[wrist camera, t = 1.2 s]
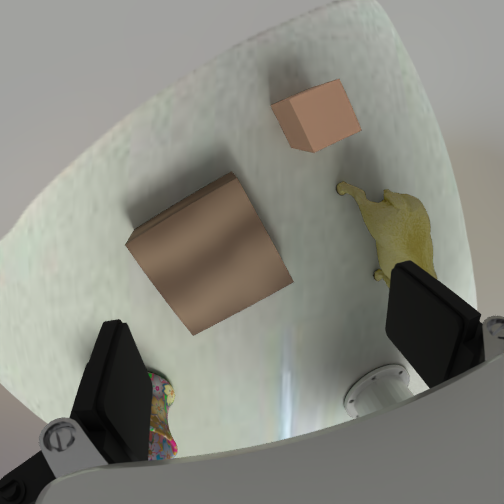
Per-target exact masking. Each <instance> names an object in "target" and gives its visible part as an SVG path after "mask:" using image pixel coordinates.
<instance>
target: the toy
mask: <svg viewBox="0 0 504 504" xmlns="http://www.w3.org/2000/svg"><path fill="white" fill-rule="evenodd" d="M336 191H337V193H338V194H340V195H344V194H345V193H348V194H350V195H351V196H353V197H354V199H355V200H356V202H357V203H358V205H359V208H360V211H361V214H362V217H363V220H364V222H365V224H366V226H367V228H368V230H369V232H370V234H371V236H372V237H373V238H374V239H375V240H376V247H377V255H378V260H379V265H380V268H381V269H382V270H381V269H378V270H376V271H375V272H374V275H373V277H374V279H375V280H376V281H380V280H381V279H382V278H383V280H384V281H385V282H386V284H387V286H388V287H389V289H390V278H391V270H392V269H393V268H394V266H395V264H397V263H400V262H404V261H408V260H411V261H412V262H414V263H415V264H417V265H418V266H419V267H421V268H422V269H423V270H425V271H426V272H428V273H429V274H430V275H432V276H433V277H434V278H436V279H437V275H436V273H435V271H434V266H433V245H432V239H431V235H430V220H429V217H428V214H427V212H426V209H425V208H424V206H423V204H422V202H421V201H420V200H419V199H417V198H415V197H413V196H411V195H408V194H399V193H393V192H391V191H390V190H388V189H386V190H384V194H383V195H384V200H382V202H380V203H376V202H371V201H369V200H367V198H366V194H365V192H364V191H363V190H361V189H359V188H357V187H355V186H352V185H350V184H347V183H346V182H344V181H343V182H342V183H339V184H338V185H337V187H336Z"/></svg>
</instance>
